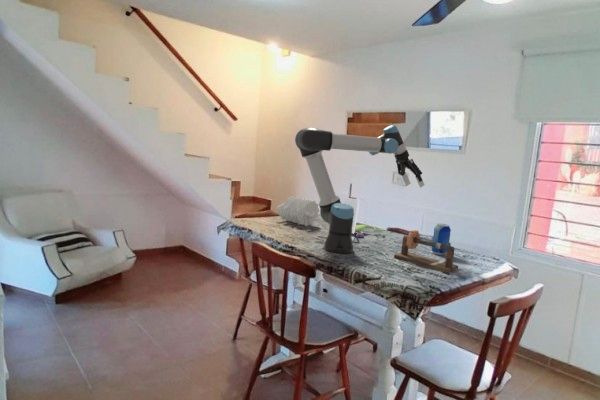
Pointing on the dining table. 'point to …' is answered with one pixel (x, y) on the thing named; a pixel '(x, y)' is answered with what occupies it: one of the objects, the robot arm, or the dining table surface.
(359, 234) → the figurine
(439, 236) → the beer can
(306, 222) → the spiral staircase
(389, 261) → the dining table surface
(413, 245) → the ring
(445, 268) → the pipe stand
